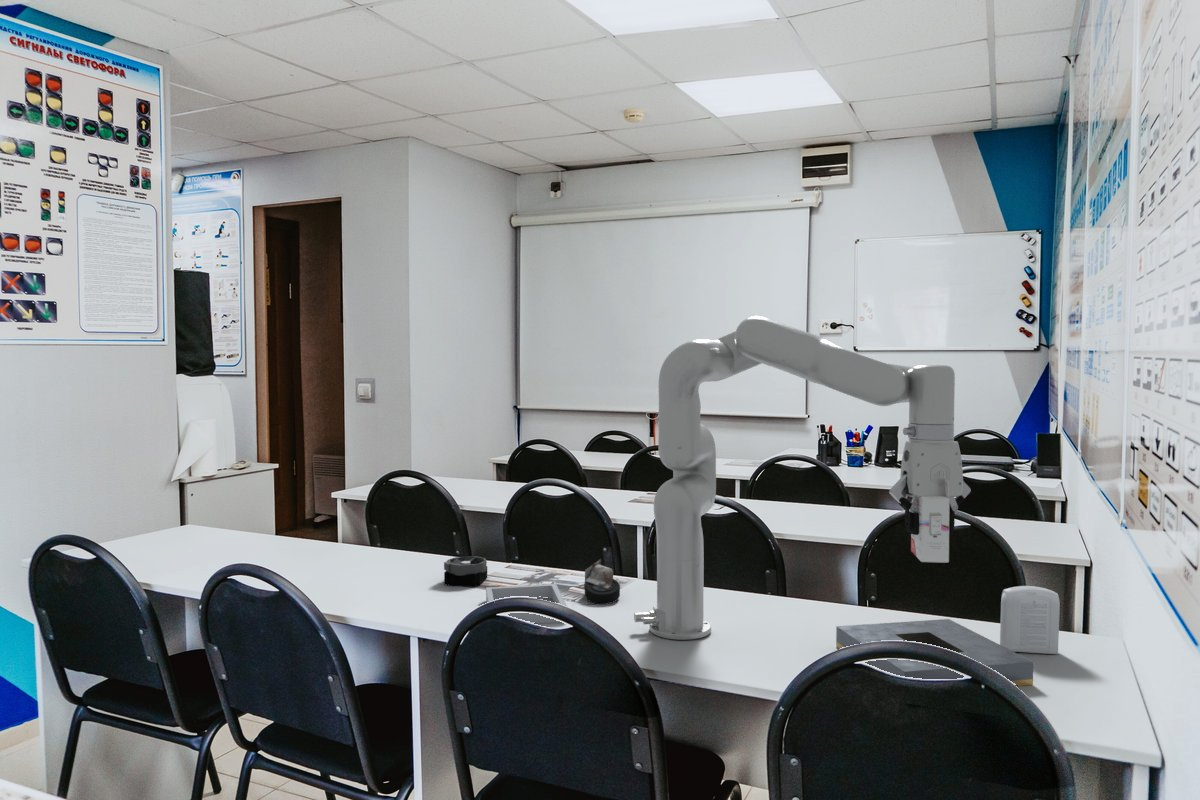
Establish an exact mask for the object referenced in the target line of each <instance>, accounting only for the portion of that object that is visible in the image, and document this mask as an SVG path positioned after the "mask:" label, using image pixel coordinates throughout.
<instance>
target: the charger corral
mask: <svg viewBox="0 0 1200 800" xmlns="http://www.w3.org/2000/svg"><path fill="white" fill-rule="evenodd" d="M485 596H486V597H485V601H486V603H487V602H490V601H493V600H495V599H499V598H504V597H510V596H529V597H537V598H543V597H548V598H547V599H551V600H552V599H553V600H552V602H553V601H554V602H556V603H560V604H562V605H565V606H567V607H568V605H567V603H566V601H565V599H564V597H563V595H562V593H561V591H560V589H559V587H558V584H557V583H549V584H548V583H547V584H546V583H545V584H530V585H529V584H528V585H509V586H494V587H493V586H492V587H490V586H489V587H485ZM539 596H541V597H539ZM545 600H546V598H545ZM554 602H553V603H554ZM508 615H509V616H512V617H516V618H518V619H522V620H525V621H530V622H535V623H538V624H551V623H553V624H554V623H559V622H558V621H556V620H554V619H550V618H546V617H543V616H540V615H536V614H529V613H510V614H508Z"/></svg>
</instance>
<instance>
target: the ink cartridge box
mask: <svg viewBox="0 0 1200 800" xmlns="http://www.w3.org/2000/svg"><path fill="white" fill-rule="evenodd" d="M944 480H945V490H946V497H945V496H925V497H921V498H919V505H918V507H917V510H916V512H917V513H919V534H918V535H913V534H911V533H910V552H911V553H913V555H914V556H915V557H916V558H917V559H918V561H920V562H921V563H940V564H941V563H944V564H945V563H949V562H950V533H949V504H950V502H949V488H948V480H946V479H944Z"/></svg>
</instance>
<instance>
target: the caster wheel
mask: <svg viewBox="0 0 1200 800" xmlns="http://www.w3.org/2000/svg"><path fill="white" fill-rule="evenodd" d="M583 586H584V598H585V599H587V601H588V602H590V603H593V604H596V603H597V605H604V604H605V605H607V603H608V604H612V603H614V602H616V601H617V600H619V598H620V596H621V584H620V583H619V582H618V580H616V579H614V570H613V568H610V567H607V566H605V565H602V559H601V558H600V559H598V560H597V561H595V562H594V563H593V564H591V565H590V566H589V567H587V568H586V569H585V571H584V584H583Z"/></svg>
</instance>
